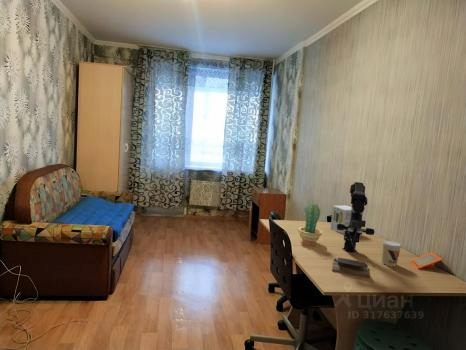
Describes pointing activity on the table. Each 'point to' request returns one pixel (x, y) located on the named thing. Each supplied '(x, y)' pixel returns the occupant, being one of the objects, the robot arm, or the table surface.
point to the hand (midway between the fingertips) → (353, 245)
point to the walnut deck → (350, 269)
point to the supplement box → (340, 217)
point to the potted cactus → (310, 225)
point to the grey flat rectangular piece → (351, 262)
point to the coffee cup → (390, 252)
